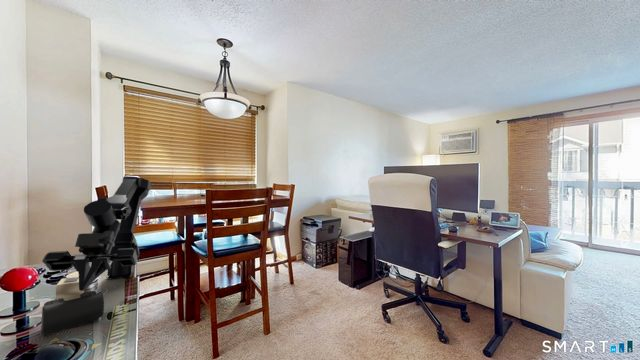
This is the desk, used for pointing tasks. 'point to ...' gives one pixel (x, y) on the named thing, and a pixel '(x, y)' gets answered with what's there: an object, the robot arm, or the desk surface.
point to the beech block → (68, 289)
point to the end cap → (71, 312)
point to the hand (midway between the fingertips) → (81, 290)
